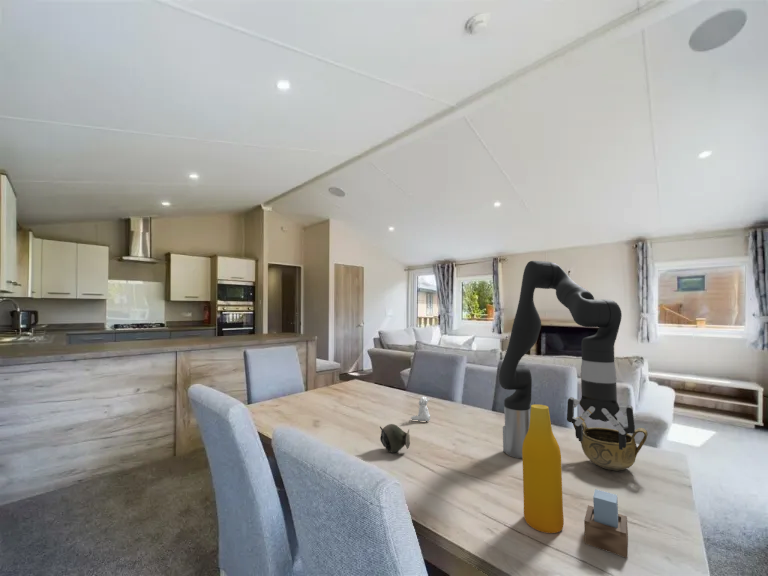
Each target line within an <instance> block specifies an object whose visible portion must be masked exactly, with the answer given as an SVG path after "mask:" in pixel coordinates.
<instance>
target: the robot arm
mask: <svg viewBox="0 0 768 576" xmlns="http://www.w3.org/2000/svg"><path fill="white" fill-rule="evenodd" d="M536 289H544V290H548V289H549V290H550V289H552V290H555V295H556V296H555V297H556V298H557V300H558V302H559V303H560V304H561V305H563V306H564V307H565V308H567V309H568V311H569V313H570V314H571V317H572V319H573V321H574V322H575V323H576V324H577V325H579V326H581V327H584V328H598V329H597V332H596V333H595V334H592V335H590V336H586V337H583V338H582V340H581V342H580V343H581V366H580V383H581V386H580V387H581V398H580V399H577V398H574V397H573V396H570V397H568V399H567V406H566V407H567V409H566V421H567V422H568V423H571V424H572V425H573V424H574V425H575V428H574V430H575V432H574V433H575V438H576V439H578V442H580V441H581V442H582V440H583V427H582V425H581V424H582V423H583V422H586V420H587V419H588V418H590V419H591V420H594V421H597V420H599V421H601V422H605V423H606V422H610V423H611V425H613V427H614V428H615V430H618V431H619V449H620V450H623V448H625V447H626V434H631V435H633V433H634V432H635V430H636V427H635V419H634V407H633V406H632V405H629V404H628V405H627V406H626V405H619V403H618V396H617V395H618V394H617V370H616V364H615V362H616V361H615V343H616V340H617V335H618V333H619V329H620V325H621V323H622V322H621V321H622V310H621V309H622V308H621V307H620V305H619V304H618V303H617V302H616V301H615V300H612V299H595V297H594V295H593V294H592V293H591V292H590V291H588V290H587V289H586V288H584V287H583V286H581V285H579V284H578V283H576V282H575V281H574V280H573V279H572V278H571V277H570V276H569V274H568V273H567V272H566V271H565V270H564V269H563V268H562V267H561V266H560V265H559V264H558V263H555V262H552V261H542V260H530V261H529V262H527V263H526V264H525V267H524V270H523V275H522V280H521V287H520V293H519V300H518V304H517V308H516V313H515V316H514V319H513V323H512V327H511V332H510V336H509V342H508V345H507V348H506V350H505V355H504V357H503V359H502V363H501V365H500V369H499V373H498V374H499V375H498V381H499V385H500V387H501V389H504V390H509V391H510V390H513V391H514V392H513V393H512V394H511V395H509V396H507V397H506V398H505V399H504V400H503V401H504V402H503V405H504V407H503V409H504V425H503V426H502V447H503V448H502V452H503V453H505V454H507V455H508V456H510V457H513V458H516V459H517V458H518V459H523V458H522V447H523V441H524V439H525V436H526V434H527V432H528V430H529V425H530V413H531V402H532V391H533V390H532V388H533V387H532V386H533V381H532V379H533V377H532V373H531V370H530V369H529V367H528V366H527V365H525V364H519V363H520V361H521V360H522V359H523V357H525V355H526V354H527V353H528V352H529V351H530V350H531V349H532V348H533V347H534V345H536V343H537V341H538V339H539V335H540V332H541V328H542V321H541V317H540V315H539V311H538V310H537V307H536V305H535V303H534V302H535V301H534V294H535V290H536ZM578 405H579V406H580V408H581V409H582V410H583V412H582V413H581V414H580V416H578V417H579V418H578V419H577V418H576V417H575V408H577V406H578ZM619 412H622V414H623V415H624V416H625V417H626V418H627V419H626V420H627V426H624V424H623V423H622V422H621V421H620V419H619V417H617V416H616V415H617V414H618V413H619ZM581 442H580V443H581Z"/></svg>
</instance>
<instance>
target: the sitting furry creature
mask: <svg viewBox="0 0 768 576" xmlns="http://www.w3.org/2000/svg"><path fill="white" fill-rule="evenodd" d="M429 401H430V397H426V396H421V397H420V399H419V401H418V405H419V407H418V413H417V415H413V416H411V417H410V420H411V419H412V420H418V421H429V420H430V421H431V414H430V411H429V408H428V406H427V405H428V402H429ZM430 421H429V422H430Z"/></svg>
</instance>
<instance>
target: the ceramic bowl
mask: <svg viewBox="0 0 768 576" xmlns="http://www.w3.org/2000/svg"><path fill="white" fill-rule="evenodd" d="M579 417H580V416H576V417H575V418H577V419H578V418H579ZM581 425H582V427H583V440H582V442H581V441H579V442H580V444H581V448H582V451H583V453H584V455H585V457H586V458H587V459H588V460H589V461H591V462H592V463H593V464H595V465H596V466H598V467H600V468H602V469H604V470H608V471H615V472H617V471H624V470H627V469H629V468H631V467H632V466H633V465H634V464H635V462H636V458H637V456H638V453H639V452H640V451H641V449H642V447H643V446H644V444H645V443H646V440H647V437H648V436H649V435H648V434H649V433H648V431H647V430H646V429H645V428H644V427H643V428H642V427H638V428H637V429H636V428H635V432H634V433H633V434H630V433H628V434H626V447H625V448H623V450H620V449H619V431H618V430H617V429H614V428H608V427H588V426H587V423H586V421H584V422H583V423H582V424H581ZM572 426H573V428H574V429H575V425H574V424H573V423H572ZM638 433H643V435H644V436H643V438H642V439H641V441H640V442H639V444H638V446H637V442H636V439H635V437H636V435H637V434H638Z"/></svg>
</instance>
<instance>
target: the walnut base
mask: <svg viewBox="0 0 768 576" xmlns="http://www.w3.org/2000/svg"><path fill="white" fill-rule="evenodd" d="M583 521H584V527H583V528H584V544H586V545H588V546H590V547H594V548H597V549H599V550H603V551H606V552H608V553H611V554H614V555H617V556H620V557H623V558H625V559H628V556H629V554H628V551H629V535H628V534H629V530H628V516H627V515H624V514H620V513H618V528H615V527H611V526H608V525H605V524H602V523H598V522H595V521H594V505H593V506H592V505H589V504H588V505H587V509H586V512H585V517H584V520H583Z"/></svg>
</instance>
